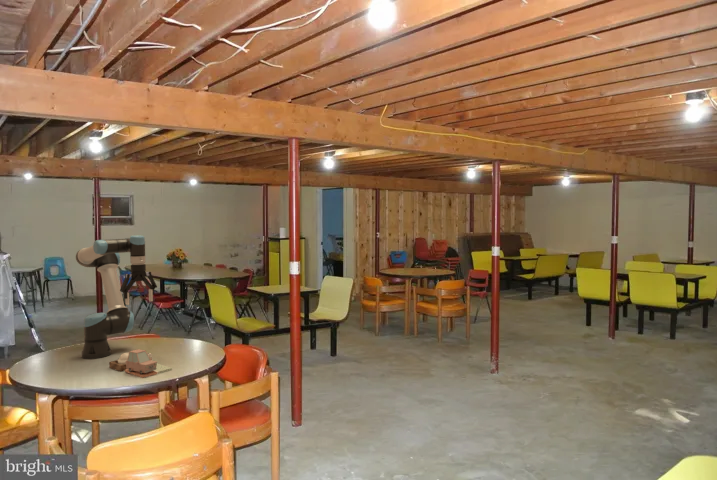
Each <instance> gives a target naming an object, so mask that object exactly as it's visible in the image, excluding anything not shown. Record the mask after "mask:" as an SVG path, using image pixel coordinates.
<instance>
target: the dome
mask: <svg viewBox="0 0 717 480" xmlns="http://www.w3.org/2000/svg"><path fill="white" fill-rule="evenodd" d="M128 356H129V352H123V353H122V354H120V356H119V358H117V360H118V363H119V364H122V365H123V364H126V361H127V360H128Z"/></svg>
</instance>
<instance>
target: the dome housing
mask: <svg viewBox="0 0 717 480" xmlns="http://www.w3.org/2000/svg"><path fill="white" fill-rule="evenodd" d="M108 362H109V363H108V365H109V367H108V368H109V369H112V370H115V371H118V372H125V370H126V369H127V368H126V364H123V365H122V364H119V363H118V359H117V360H112V361H111V360H110V361H108Z"/></svg>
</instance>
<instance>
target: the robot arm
mask: <svg viewBox="0 0 717 480" xmlns="http://www.w3.org/2000/svg"><path fill="white" fill-rule="evenodd" d="M145 239H146V238H145V236H144V235H130V237H127V238H118V239H117V238H116V239H113V238H112V239H97V240H95V241H94V242H93V244H92V245H91V246H88V247H83V248H80V249H78V251H77V252H76V254H75V260H76V262H77V264H79V265H80V266H82V267H84V268H96V269H97V270H96V271H97V272H99V273H100V277H101V280H102V284H103V288H104V293H105V294H104V295H105V298H106V303H107V307H108V310H107V312H96V313H93V314H89V315H87V316H86V317H84V318H83V325H82V327H83V338H84V339H83V340H84V344H83V347H82V351H81V354H80V355H81V358H82V359H87V360H89V359H90V360H92V359H93V360H94V359H100V358H106V357H108V356H110V355H111V354H112V348H111V346H110V345H109V342H108V336H110V335H118V334H124V333H128V332H131V331H132V330H133V327H134V325H135V316H134V315H135V314H134V312H133V311H131V310H130V311H129V307H128V306H129V305H130V292H129V291H130V290H131V288H132V286H133V285H134V284H135V283H136V282H143V283H144V284H145V285H146V287H148V302H154V297H153V296H154V295H155V289H156V288H158V285H157V283H156V282H155V280H154V277H153V274H152V272H151V271H147V269H146V267H147V266H146V241H145ZM123 253H124V254H125V253H129V254H130V273H125V275H124V276H125V277H124V280H123V282H122V285H120V281H119V276H118V272H117V269H118V267H119V265H120V264H121V255H120V254H123ZM122 293H123V295H122ZM124 299H125V302H124ZM124 303H125V304H124ZM125 305H126V306H125Z"/></svg>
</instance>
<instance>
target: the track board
mask: <svg viewBox="0 0 717 480" xmlns="http://www.w3.org/2000/svg"><path fill="white" fill-rule="evenodd" d="M172 370H173V368H172V367H169V366H166V365H162V364H159V363H157V366H156V370H154V371H151V372H147V373H144V374H140V372H138V371H132V372H129V370H128V369H126V370H125V371H124V373H128V374H130V375H132V376H133V375H134V376H136V377H140V378H146V377H147V378H148V377H151V376H154V375H160V374H162V373H166V372H170V371H172Z"/></svg>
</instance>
